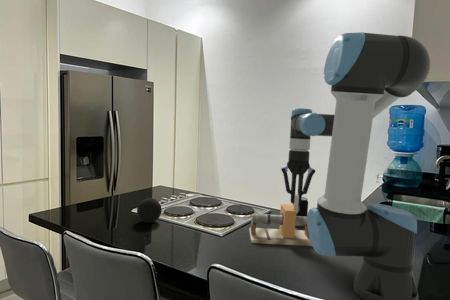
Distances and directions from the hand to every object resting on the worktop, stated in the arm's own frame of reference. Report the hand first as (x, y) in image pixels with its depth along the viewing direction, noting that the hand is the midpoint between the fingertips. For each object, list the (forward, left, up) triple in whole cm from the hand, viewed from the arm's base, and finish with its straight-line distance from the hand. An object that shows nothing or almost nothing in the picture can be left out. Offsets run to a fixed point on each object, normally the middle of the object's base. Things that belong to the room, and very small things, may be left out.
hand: (295, 211), depth 126 cm
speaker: (+11, +58, -11) cm, 60 cm away
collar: (0, +3, -9) cm, 9 cm away
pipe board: (0, +5, -11) cm, 12 cm away
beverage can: (+18, -6, -11) cm, 22 cm away
